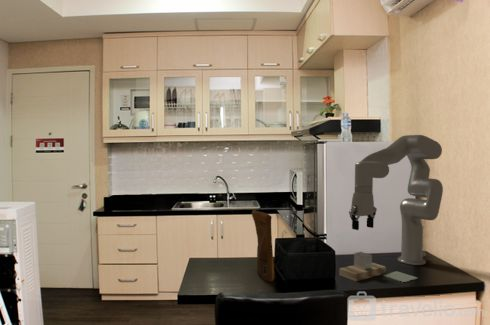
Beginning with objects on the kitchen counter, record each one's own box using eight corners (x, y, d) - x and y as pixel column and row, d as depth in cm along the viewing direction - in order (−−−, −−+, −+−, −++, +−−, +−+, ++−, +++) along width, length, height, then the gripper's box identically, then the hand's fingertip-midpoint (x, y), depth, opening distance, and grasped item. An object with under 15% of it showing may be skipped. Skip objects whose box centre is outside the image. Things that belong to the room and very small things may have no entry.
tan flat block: (368, 267, 166) (368, 261, 166) (385, 273, 159) (385, 266, 159) (339, 275, 156) (339, 268, 156) (355, 281, 148) (355, 274, 148)
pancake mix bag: (262, 284, 144) (263, 215, 143) (250, 269, 162) (251, 208, 162) (278, 282, 145) (279, 214, 145) (264, 268, 164) (265, 208, 163)
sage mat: (396, 272, 161) (396, 271, 161) (417, 278, 152) (417, 277, 152) (382, 275, 155) (382, 274, 155) (403, 282, 147) (403, 281, 147)
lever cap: (360, 264, 161) (360, 251, 161) (371, 268, 156) (372, 255, 156) (353, 266, 159) (354, 253, 158) (365, 270, 153) (365, 256, 153)
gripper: (369, 188, 164) (368, 225, 164) (343, 189, 155) (342, 228, 155) (383, 189, 158) (382, 228, 158) (357, 191, 148) (356, 232, 149)
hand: (362, 228), depth 157 cm, fingers open, 9 cm apart
